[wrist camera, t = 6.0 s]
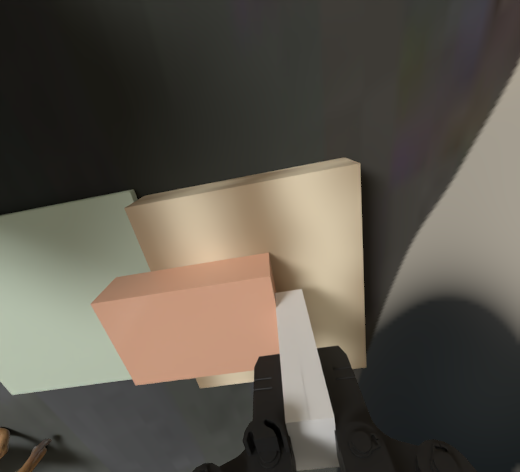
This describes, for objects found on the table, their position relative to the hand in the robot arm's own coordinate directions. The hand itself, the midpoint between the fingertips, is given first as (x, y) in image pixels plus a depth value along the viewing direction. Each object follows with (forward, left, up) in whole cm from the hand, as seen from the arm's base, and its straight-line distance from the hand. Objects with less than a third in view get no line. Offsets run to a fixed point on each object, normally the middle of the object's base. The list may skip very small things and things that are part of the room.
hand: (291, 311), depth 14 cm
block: (-5, 0, -1) cm, 5 cm away
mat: (-17, 0, -4) cm, 17 cm away
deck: (-2, 0, -4) cm, 4 cm away
